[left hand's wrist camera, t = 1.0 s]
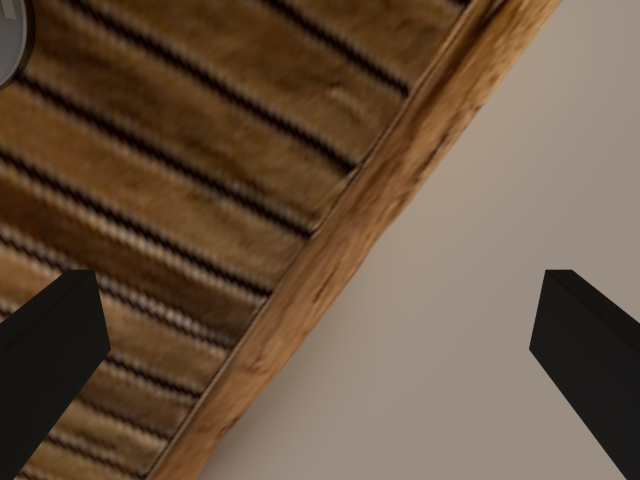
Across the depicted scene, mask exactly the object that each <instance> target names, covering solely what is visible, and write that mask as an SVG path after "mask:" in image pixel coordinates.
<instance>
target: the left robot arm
mask: <svg viewBox="0 0 640 480" xmlns="http://www.w3.org/2000/svg"><path fill="white" fill-rule="evenodd" d="M33 40H34V16H33V10H32V5H31V1H30V0H0V91H1V90H2V89H4V88H6V87H7V86H9V85H10V84H11V83H12V82H13V81H14V80H15V79H16V78H17V77H18V76H19V75H20V74H21V72H22V71H23V69H24V67H25V66H26V64H27V62H28V59H29V57H30V54H31V51H32V46H33ZM110 350H111V347H110V342H109V337H108V332H107V328H106V323H105V318H104V313H103V308H102V304H101V299H100V294H99V289H98V284H97V280H96V275H95V270H67V271H66V272H64V273H63V274H62V275H61V276H59V277H58V278H57V279H56V280H54V281H53V282H52V283H51V284H49V285H48V286H47V287H46V288H44V289H43V290H42V291H41V292H39V293H38V294H37V295H35V296H34V297H33V298H32V299H30V300H29V301H28V302H27V303H25V304H24V305H23V306H22V307H20V308H19V309H18V310H17V311H15V312H14V313H13V314H12V315H10V316H9V317H8V318H6V319H5V320H4V321H3V322H1V323H0V480H14V478H15V477H16V476H17V474H18V473H19V472H20V470H21V469H22V468H23V466H24V465H25V464H26V462H27V461H28V460H29V458H30V457H31V456H32V454H33V453H34V452H35V450H36V449H37V448H38V446H39V445H40V444H41V442H42V441H43V439H44V438H45V437H46V435H47V434H48V433H49V431H50V430H51V429H52V427H53V426H54V425H55V423H56V422H57V421H58V419H59V418H60V417H61V415H62V414H63V413H64V411H65V410H66V409H67V407H68V406H69V405H70V403H71V402H72V401H73V399H74V398H75V397H76V395H77V394H78V393H79V391H80V390H81V389H82V387H83V386H84V385H85V383H86V382H87V381H88V379H89V378H90V377H91V375H92V374H93V373H94V371H95V370H96V369H97V367H98V366H99V365H100V363H101V362H102V361H103V359H104V358H105V357H106V355H107V354H108V353H109V351H110ZM529 350H530V351H531V353H532V354H533V355H534V357H535V358H536V359H537V361H538V362H539V363H540V365H541V366H542V367H543V369H544V370H545V371H546V373H547V374H548V375H549V377H550V378H551V379H552V381H553V382H554V383H555V385H556V386H557V387H558V389H559V390H560V391H561V393H562V394H563V395H564V397H565V398H566V399H567V401H568V402H569V403H570V405H571V406H572V407H573V409H574V410H575V411H576V413H577V414H578V415H579V417H580V418H581V419H582V421H583V422H584V423H585V425H586V426H587V427H588V429H589V430H590V431H591V433H592V434H593V435H594V437H595V438H596V439H597V441H598V442H599V444H600V445H601V446H602V448H603V449H604V450H605V452H606V453H607V454H608V456H609V457H610V458H611V460H612V461H613V462H614V464H615V465H616V466H617V468H618V469H619V470H620V472H621V473H622V474H623V476H624V477H625V478H626V480H640V323H639V322H637V321H636V320H635V319H633V318H632V317H631V316H630V315H628V314H627V313H626V312H625V311H623V310H622V309H621V308H620V307H618V306H617V305H616V304H615V303H613V302H612V301H611V300H610V299H608V298H607V297H606V296H604V295H603V294H602V293H601V292H599V291H598V290H597V289H596V288H594V287H593V286H592V285H591V284H589V283H588V282H587V281H586V280H584V279H583V278H582V277H581V276H579V275H578V274H577V273H576V272H574V271H573V270H545V275H544V280H543V285H542V289H541V294H540V299H539V304H538V308H537V313H536V318H535V323H534V328H533V332H532V337H531V342H530V347H529Z"/></svg>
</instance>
